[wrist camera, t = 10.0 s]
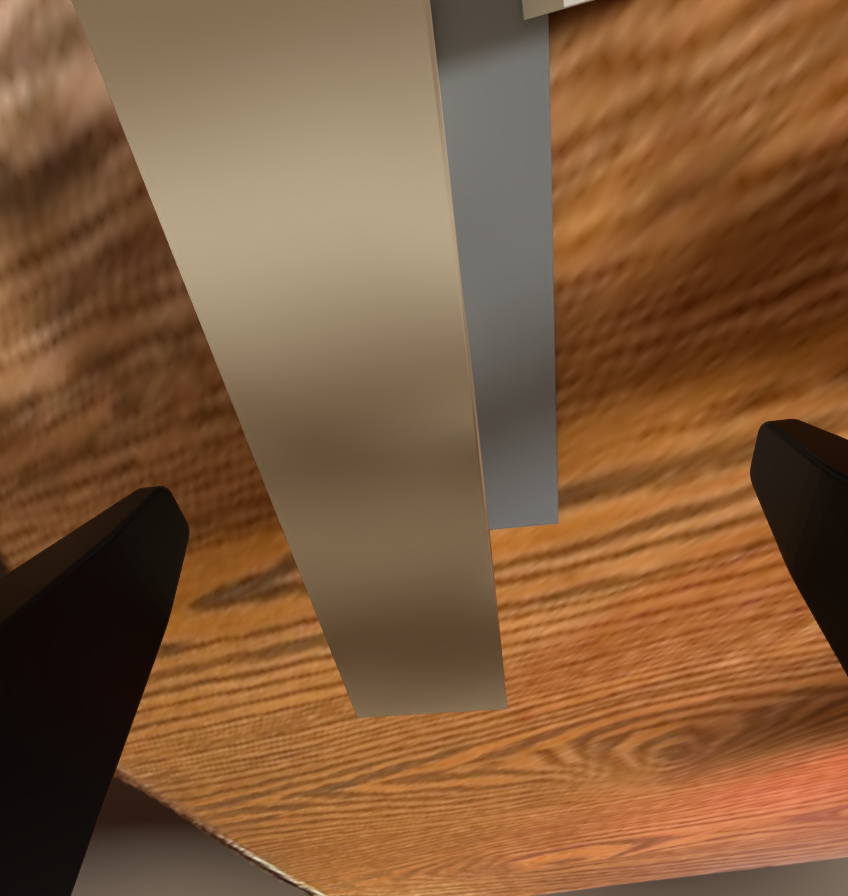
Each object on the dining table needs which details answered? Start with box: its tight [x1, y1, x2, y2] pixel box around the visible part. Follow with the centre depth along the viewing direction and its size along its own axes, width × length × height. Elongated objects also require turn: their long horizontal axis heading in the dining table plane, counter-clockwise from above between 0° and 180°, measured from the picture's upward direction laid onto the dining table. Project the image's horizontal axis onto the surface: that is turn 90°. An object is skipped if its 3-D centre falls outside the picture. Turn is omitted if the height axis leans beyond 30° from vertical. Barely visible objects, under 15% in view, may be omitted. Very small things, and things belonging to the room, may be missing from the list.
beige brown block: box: [72, 0, 508, 718], centre depth 14 cm, size 16×4×10 cm, turn 9°
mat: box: [430, 0, 558, 530], centre depth 19 cm, size 22×10×1 cm, turn 9°
